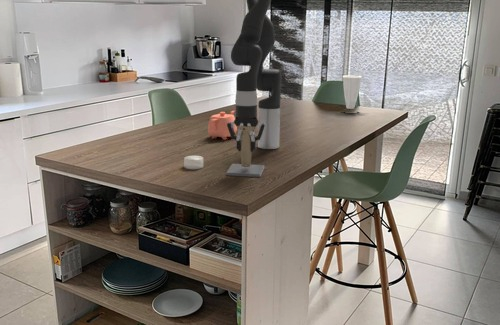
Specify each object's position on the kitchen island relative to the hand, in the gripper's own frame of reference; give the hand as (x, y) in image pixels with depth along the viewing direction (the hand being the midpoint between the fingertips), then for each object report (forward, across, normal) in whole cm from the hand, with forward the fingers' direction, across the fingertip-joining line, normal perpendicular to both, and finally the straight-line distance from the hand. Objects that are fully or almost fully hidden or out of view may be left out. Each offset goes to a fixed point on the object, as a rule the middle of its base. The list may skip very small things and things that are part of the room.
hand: (246, 150), depth 183 cm
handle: (+6, 0, 0) cm, 6 cm away
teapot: (+8, +19, -55) cm, 59 cm away
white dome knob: (+8, +20, -3) cm, 22 cm away
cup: (+8, -43, -138) cm, 145 cm away
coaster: (+8, 0, 0) cm, 8 cm away
